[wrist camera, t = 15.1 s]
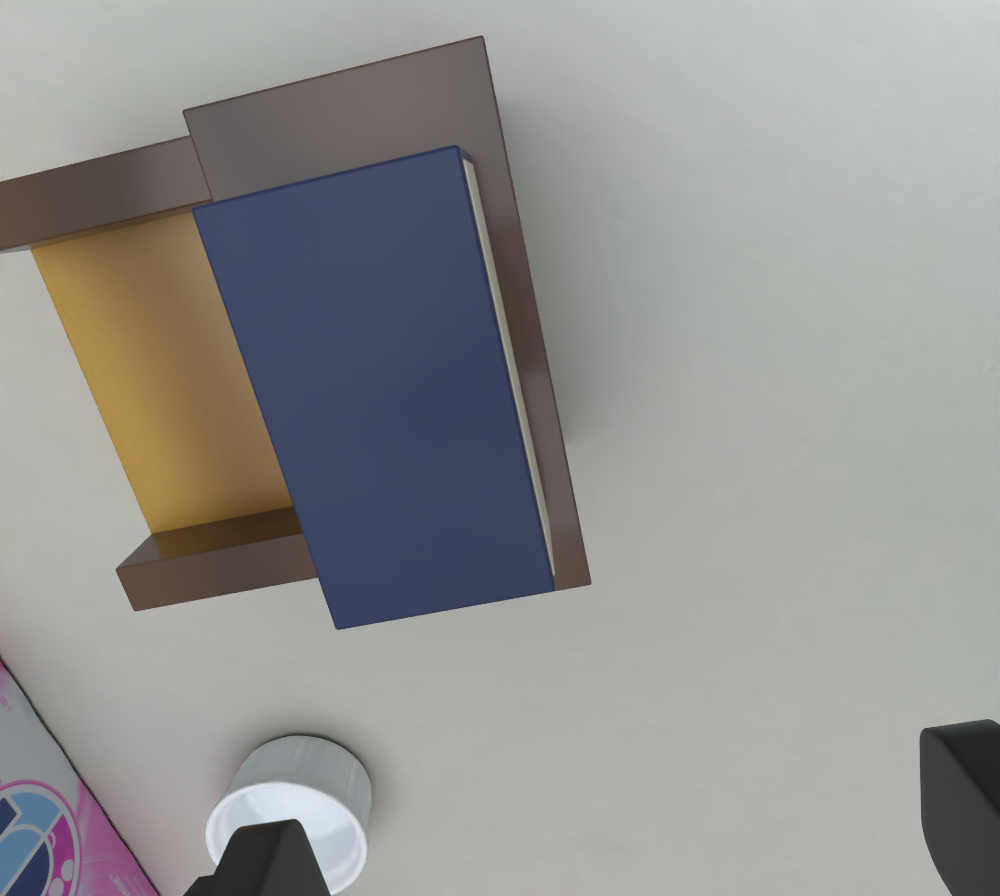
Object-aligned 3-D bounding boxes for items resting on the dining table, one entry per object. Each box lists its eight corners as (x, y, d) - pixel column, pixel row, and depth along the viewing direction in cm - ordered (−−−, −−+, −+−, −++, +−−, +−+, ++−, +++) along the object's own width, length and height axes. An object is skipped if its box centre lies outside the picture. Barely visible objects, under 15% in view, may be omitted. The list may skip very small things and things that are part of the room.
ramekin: (396, 829, 44) (384, 894, 40) (259, 847, 45) (234, 913, 41) (359, 714, 41) (342, 772, 37) (212, 736, 42) (180, 795, 38)
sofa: (494, 96, 30) (483, 34, 18) (564, 447, 35) (591, 585, 23) (96, 193, 31) (-167, 196, 19) (220, 514, 37) (75, 677, 25)
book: (470, 151, 19) (460, 142, 15) (550, 523, 22) (558, 592, 19) (251, 203, 19) (188, 207, 15) (364, 558, 23) (335, 631, 19)
